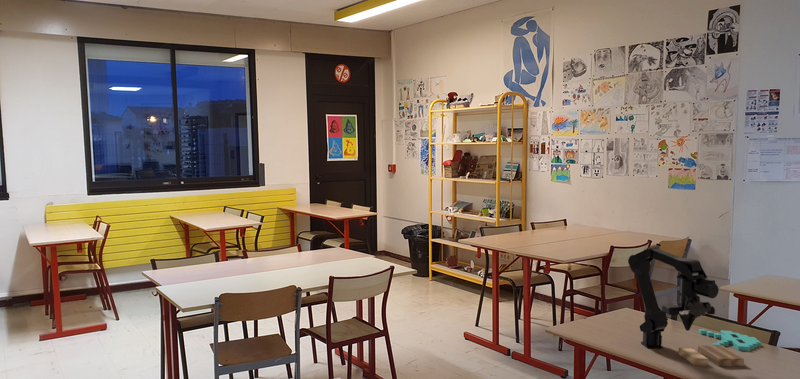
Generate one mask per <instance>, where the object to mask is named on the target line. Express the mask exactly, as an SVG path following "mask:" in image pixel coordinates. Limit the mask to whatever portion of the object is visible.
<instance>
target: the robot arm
mask: <svg viewBox="0 0 800 379" xmlns="http://www.w3.org/2000/svg"><path fill="white" fill-rule="evenodd" d="M654 260H656V261H659V262H661V263H664V264H666V265H669V266H671V267H673V268H675V270H676V271H677V272H679V273H680V274H679V275H677V276H676V278H677V279H680V280H681V283H680V284H681V289H680V292H679V291H678V295H679V296H680V301H679V302H678V305H679V306H677V305H675V304H673V303H664V304H663V305H662V306H661V308H660V307H659V304H658V300H657V298H656V295H655V291H654V287H653V284H652V280H651V276H650V271H651V262H653V261H654ZM627 262H628V265H629V267H630V270H631V271H632V272H633V274H634V275H635V276H636V277H637V282H638V285H639V286H638V287H639V289H640V292H641V295H642V296H641V297H642V299H643V303H644V306H645V312H644V316H643V317H644V322H643V323H641V324H640V325H639V330H640V332H642V341H640V343H641V344H642V345H643V346H644V347H646V348H648V349H662V348H663V345H662V344H663V340H662V339H663V335H662V333H663V332H665V329H666V327H667V326H668V325H669V324H668V321H669V319H668V316H679V318H680V320H681V323H682V325H683V327H684V329H685V330H686V331H690V330H691V327H692V326H693V323H694V321H695V320H696V319H697V318H699V317H701V316H705V315H706V314H707V315H716V308H715V307H714V306H713V305H711V303H710V302H709V301H704V302H703V301H702V302H701V298H700V296H702V297H706V298H709V299H715V298H716V297H717V296H718V294H719V291H720V290H719V286H718V285H717V283H716V280H715V279H709V278H708V276H707V274H706V272H705V270H704V268H703V267H702V264H701V262H700V261H699V260H697V259H694V258H688V257H687V258H686V257H680V256H677V255H675V254H672V253H670V252H667V251H665V250H662V249H659V248H658V247H656V246H655V247H654V246H653V247H647V248H645V249H644V250H643V251H640V252H637V253H635V254H631V255H630V256H629V257H628V260H627ZM667 315H668V316H667Z"/></svg>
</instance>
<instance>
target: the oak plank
mask: <svg viewBox="0 0 800 379" xmlns="http://www.w3.org/2000/svg"><path fill="white" fill-rule="evenodd" d="M678 355H680V356H681V357H682V358H684V359H685V360H687V361H688V362H689V363H691V364H692V365H693V366H696V367H697V366H702V367H705V366H706V367H707V366H709V360H708V358H706V357H705V356H703V355H702V354H700V353H699V352H698V350H696V349H694V348H693V347H678Z"/></svg>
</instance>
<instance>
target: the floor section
mask: <svg viewBox="0 0 800 379" xmlns="http://www.w3.org/2000/svg"><path fill="white" fill-rule="evenodd" d="M697 352H699V353H700V354H702V355H703V356H705V357H706V358H708V361H710V362H711V363H713V364H715V365H716V366H717V367H744V366H745V358H744V357H742V356H741V355H739V354H737V353H736V352H734V351H732V350H730V349H729V348H727V347H726V346H722V345H713V344H710V345H708V344H707V345H706V344H705V345H704V344H703V345H702V344H701V345H697Z"/></svg>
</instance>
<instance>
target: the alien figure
mask: <svg viewBox="0 0 800 379" xmlns="http://www.w3.org/2000/svg"><path fill="white" fill-rule="evenodd" d="M698 334H700V335H702V334H706V335H705V336H706V337H709V336H713V337H712V338H714V339H715V338H719V339H718V340H716V342H713V343H712V345H722V346H724V347H729V345H730V344H731V346H733V348H735V349H736V350H737V351H741V352H742V351H744V352H751V350H752V349H758V347H760V346H761V347H762V342H761V341H760V340H758V339H757V338H756V337H755V336H749V335H748V334H741V333H739V332H733V331H732V330H720V333H718V332H713V331H711V330H707V329H705V328H699V329H698ZM719 340H720V341H719Z"/></svg>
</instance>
